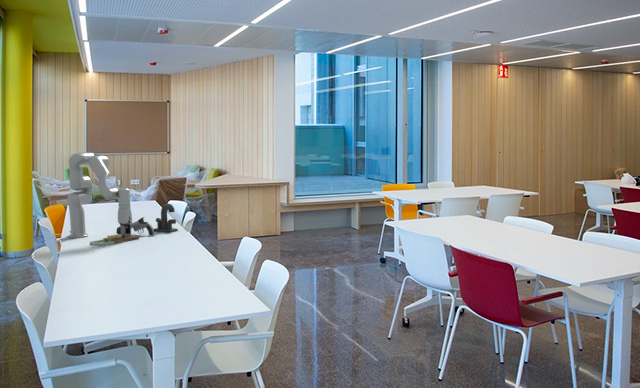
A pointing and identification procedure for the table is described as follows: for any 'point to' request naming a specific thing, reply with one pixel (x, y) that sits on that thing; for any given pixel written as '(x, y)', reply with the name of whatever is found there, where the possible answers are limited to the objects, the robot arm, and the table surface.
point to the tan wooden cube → (111, 238)
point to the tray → (101, 243)
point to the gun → (139, 227)
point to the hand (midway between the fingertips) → (125, 233)
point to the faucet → (165, 220)
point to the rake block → (124, 230)
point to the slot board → (124, 239)
